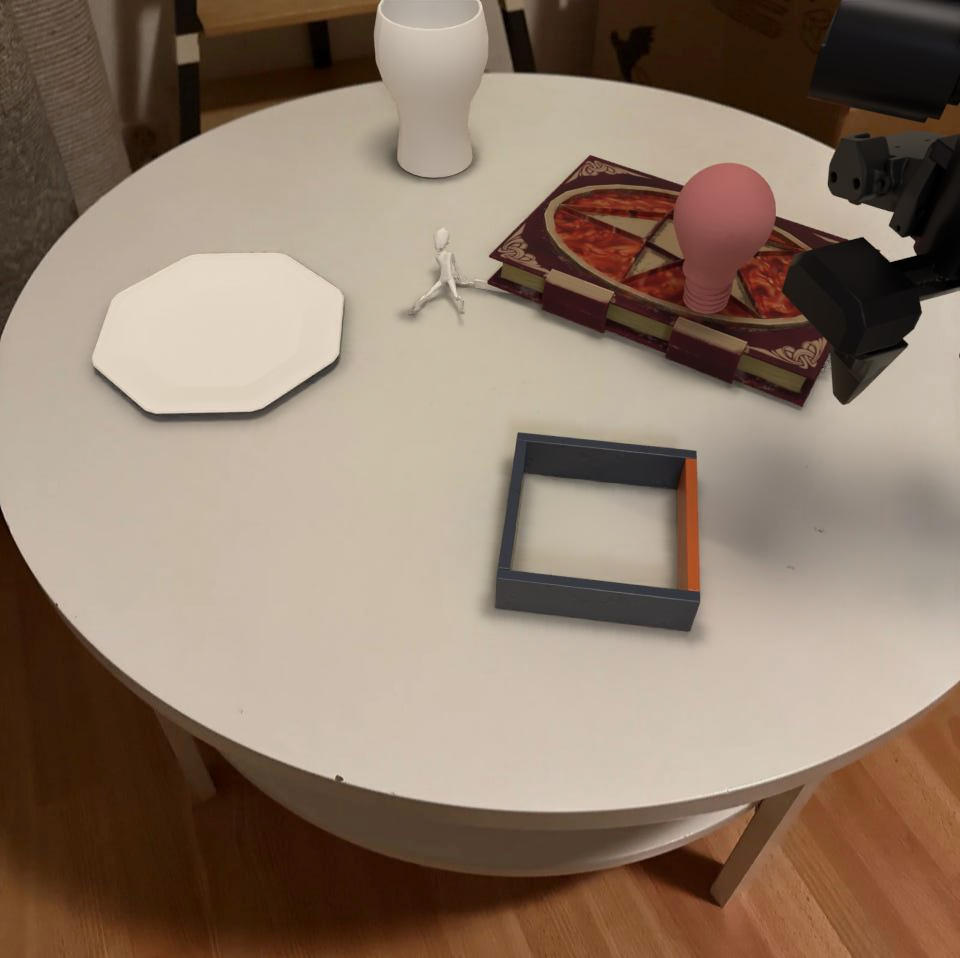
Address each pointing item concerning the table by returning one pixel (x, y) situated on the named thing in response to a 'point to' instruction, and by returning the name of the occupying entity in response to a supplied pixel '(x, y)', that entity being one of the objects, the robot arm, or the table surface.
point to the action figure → (446, 275)
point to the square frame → (597, 595)
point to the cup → (432, 78)
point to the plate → (220, 334)
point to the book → (662, 280)
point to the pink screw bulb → (720, 230)
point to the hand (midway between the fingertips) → (904, 380)
